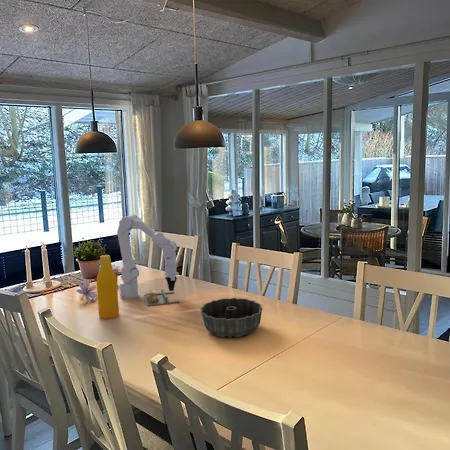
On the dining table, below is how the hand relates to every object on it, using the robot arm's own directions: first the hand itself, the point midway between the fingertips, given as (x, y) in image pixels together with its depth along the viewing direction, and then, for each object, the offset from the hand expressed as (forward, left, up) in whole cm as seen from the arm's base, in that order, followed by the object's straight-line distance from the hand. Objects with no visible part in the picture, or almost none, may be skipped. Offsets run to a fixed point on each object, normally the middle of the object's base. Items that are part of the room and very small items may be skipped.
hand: (171, 290), depth 227 cm
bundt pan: (+18, -49, -5) cm, 53 cm away
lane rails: (-5, 0, -5) cm, 7 cm away
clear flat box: (-9, 0, -5) cm, 10 cm away
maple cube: (-11, 0, -4) cm, 11 cm away
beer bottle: (-32, -14, -5) cm, 35 cm away
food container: (-32, +39, -5) cm, 51 cm away
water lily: (-42, +14, -5) cm, 44 cm away
